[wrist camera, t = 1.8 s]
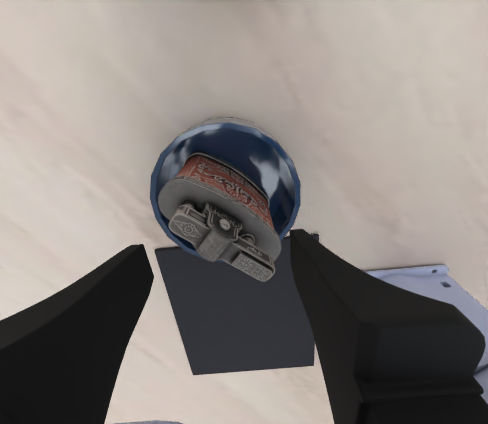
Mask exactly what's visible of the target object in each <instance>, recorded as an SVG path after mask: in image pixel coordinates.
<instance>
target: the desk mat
mask: <svg viewBox="0 0 488 424" xmlns="http://www.w3.org/2000/svg"><path fill="white" fill-rule="evenodd" d="M311 236H312V237H313V238H314V239H315V240H317V241H318V242H319V235H318V234H313V235H311ZM155 254H156V258H157V261H158V264H159V267H160V270H161V274H162V277H163V280H164V283H165V286H166V290H167V293H168V296H169V299H170V302H171V306H172V309H173V312H174V315H175V318H176V322H177V325H178V328H179V331H180V334H181V338H182V341H183V344H184V347H185V351H186V354H187V357H188V360H189V363H190V367H191V370H192V373H193V375H202V374H214V373H227V372H240V371H253V370H266V369H278V368H291V367H304V366H314V344H315V340H314V336H313V332H312V329H311V326H310V323H309V320H308V317H307V315H306V312H305V309H304V306H303V304H302V301H301V298H300V295H299V293H298V290H297V287H296V284H295V281H294V277H293V273H292V268H291V257H290V237H284V238H283V239H282V241H281V252H280V255H279V256H278V257H277V259H276V260H275V261H274V267H275V273H274V274H273V276H272V277H271V278H270V279H268V280H267V281H265V282H263V281H260V280H257V279H256V278H254V277H252V276H250V275H248V274H247V273H245V272H243V271H241V270H239V269H238V268H236V267H234V266H232V265H230V264H229V263H227V262H218V261H215V262H210V261H207V260H206V259H202V258H200V257H198V256H196V255H193V254H191V253H189V252H187V251H185V250H183V249H182V248H181V247H173V248H162V249H156V250H155Z"/></svg>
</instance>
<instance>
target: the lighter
mask: <svg viewBox="0 0 488 424" xmlns="http://www.w3.org/2000/svg"><path fill="white" fill-rule="evenodd" d="M158 205H159V208H160V211H161V212H162V213H163V215H164V216H165V217H166V218H168V219H169V220H170V223H169V229H170V230H171V231H172V232H173V233H175V234H176V235H178V236H180V237H182V238H184V239H185V240H187V241H189V242H191V243H192V245H193V247H194V248H195V249H196V252H197V253H198V254H199V255H200V256H201V257H202V258H204V259H206V260H207V261H210V262H215V261H216V260H223V261H225V262H227V263H229V264H230V265H232V266H234V267H236V268H238V269H239V270H241V271H243V272H245V273H247V274H248V275H250V276H252V277H254V278H256V279H257V280H260V281H263V282H265V281H267V280H268V279H270V278H271V277H272V276H273V274H274V273H275V267H274V261H275V260H276V259H277V257H278V256H279V255H280V252H281V242H280V238H279V236H278V234H277V232H276V231H275V230H274V227H273V223H272V219H271V215H270V211H269V205H270V204H269V199H268V196H267V194H266V193H265V191H264V190H263V189H262V188H261V187H260V186H259V185H258V184H257V183H256V182H255V181H254V180H252V179H251V178H250V177H249V176H247V175H246V174H245V173H244V172H242V171H241V170H240V169H238V168H237V167H235V166H233V165H232V164H230V163H228V162H227V161H225V160H223V159H221V158H219V157H217V156H214V155H212V154H210V153H208V152H205V151H201V150H200V151H195V152H193V153H191V154H190V155H189V156H188V157H187V159H186V160H185V162H184V164H183V168H182V169H181V170H180V171H179V173H178V174H177V175H176V177H174V178H172V179H171V180H169V181H168V182H167V183H166V185H165V186H164V187H163V188H162V189H161V191H160V194H159V196H158Z"/></svg>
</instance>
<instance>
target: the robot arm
mask: <svg viewBox="0 0 488 424" xmlns="http://www.w3.org/2000/svg"><path fill="white" fill-rule="evenodd" d="M290 257H291V268H292V273H293V277H294V281H295V284H296V287H297V290H298V293H299V295H300V298H301V301H302V304H303V306H304V309H305V312H306V315H307V317H308V320H309V323H310V326H311V329H312V332H313V336H314V340H315V344H316V347H317V351H318V355H319V359H320V363H321V367H322V371H323V376H324V380H325V384H326V388H327V393H328V397H329V401H330V405H331V410H332V414H333V419H334V423H335V424H488V310H487V309H486V308H485V307H484V306H483V305H481V304H480V303H479V302H478V301H477V300H476V299H475V298H473V297H472V296H471V295H470V294H469V293H468V292H467V291H465V290H464V289H463V288H462V287H461V286H460V285H459V284H457V283H456V282H455V281H454V280H453V279H452V278H450V277H449V276H448V275H447V274H448V271H449V268H448V267H447V266H446V265H434V266H423V267H411V268H400V269H389V270H377V271H366V272H364V271H362V270H360V269H358V268H356V267H355V266H353V265H351V264H349V263H348V262H346V261H344V260H343V259H341V258H340V257H338V256H337V255H335V254H334V253H332V252H331V251H330V250H328V249H327V248H326V247H324V246H323V245H322V244H320V243H319V242H318V241H317V240H315V239H314V238H313V237H312V236H311V235H309V234H308V233H307V232H306V231H305V230H303V229H296V230H290ZM153 279H154V275H153V272H152V269H151V266H150V263H149V260H148V257H147V254H146V251H145V248H144V245H143V244H139V245H131V246H129V247H127V248H125V249H124V250H122V251H121V252H119V253H118V254H116V255H115V256H113V257H112V258H110V259H109V260H107V261H106V262H105V263H103V264H102V265H100V266H99V267H97V268H96V269H94V270H93V271H91V272H90V273H88V274H87V275H85V276H84V277H82V278H81V279H79V280H77V281H76V282H74V283H73V284H71V285H70V286H68V287H66V288H64V289H63V290H61V291H59V292H57V293H56V294H54V295H52V296H50V297H48V298H47V299H45V300H43V301H41V302H39V303H37V304H35V305H33V306H31V307H29V308H27V309H24V310H22V311H20V312H18V313H16V314H14V315H12V316H10V317H8V318H5V319H3V320H1V321H0V424H104V422H105V419H106V415H107V411H108V407H109V403H110V400H111V396H112V392H113V389H114V386H115V382H116V379H117V375H118V372H119V369H120V366H121V363H122V360H123V356H124V353H125V350H126V347H127V345H128V342H129V340H130V337H131V335H132V333H133V331H134V328H135V326H136V324H137V322H138V319H139V317H140V315H141V313H142V310H143V308H144V306H145V303H146V301H147V299H148V296H149V293H150V290H151V287H152V283H153ZM115 424H182V423H179V422H171V421H142V422H129V423H115Z"/></svg>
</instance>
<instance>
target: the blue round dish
mask: <svg viewBox="0 0 488 424" xmlns="http://www.w3.org/2000/svg"><path fill="white" fill-rule="evenodd" d="M200 150H201V151H205V152H208V153H210V154H212V155H214V156H217V157H219V158H221V159H223V160H225V161H227V162H228V163H230V164H232V165H233V166H235V167H237V168H238V169H240V170H241V171H242V172H244V173H245V174H246V175H247V176H249V177H250V178H251V179H252V180H254V181H255V182H256V183H257V184H258V185H259V186H260V187H261V188H262V189H263V190H264V191H265V193H266V194H267V196H268V199H269V204H270V205H269V211H270V215H271V219H272V223H273V227H274V230H275V231H276V232H277V234H278V236H279V238H280V242H281V241H282V239H283V238H284V237H285V235H286V234H287V233H288V231H289V230H290V229H291V227H292V226H293V224H294V222H295V219H296V216H297V213H298V210H299V207H300V181H299V178H298V175H297V172H296V169H295V167H294V164H293V161H292V160H291V159H290V157H289V156H288V155H287V153H286V152H285V151H284V150H283V148H282V147H281V146H280V145H279V143H278V142H277V141H276V140H275V139H274V137H273V136H272V135H271V134H270V133H269V132H267V131H265V130H264V129H263V128H261V127H259V126H257V125H256V124H254V123H253V122H249V121H246V120H242V119H237V118H232V117H226V118H216V119H209V120H206V121H204V122H202V123H200V124H198V125H196V126H193V127H191V128H189V129H188V130H186V131H185V132H183V133H182V134H181V135H179V136H178V137H177V138H176V139H175V140H174V141H173V142H172V143H171V144H170V145H169V146H168V147H167V148H166V149H165V150H164V151H163V152H162V153H161V154H160V156H159V159H158V161H157V163H156V166H155V168H154V170H153V172H152V175H151V187H150V200H151V204H152V207H153V211H154V214H155V217H156V220H157V221H158V223H159V224H160V226H161V227H162V229H163V230H164V232H165V233H166V235H167V236H168V237H169V238H170V239H171V240H172V241H174V242H175V243H176V244H177V245H178V246H180V247H181V248H182V249H183V250H185V251H187V252H189V253H191V254H193V255H196V256H198V257H200V258H202V257H201V256H200V255H199V254H198V253H197V252H196V249H195V248H194V247H193V245H192V243H191V242H189V241H187V240H185V239H184V238H182V237H180V236H178V235H176V234H175V233H173V232H172V231H171V230H170V229H169V223H170V220H169V219H168V218H166V217H165V216H164V215H163V213H162V212H161V211H160V208H159V205H158V196H159V194H160V191H161V189H162V188H163V187H164V186H165V185H166V183H167V182H168V181H169V180H171V179H172V178H174V177H176V175H177V174H178V173H179V171H180V170H181V169H182V168H183V164H184V162H185V160H186V159H187V157H188V156H189V155H190V154H191V153H193V152H195V151H200ZM202 259H204V258H202ZM216 261H218V262H225V261H223V260H216Z"/></svg>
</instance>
